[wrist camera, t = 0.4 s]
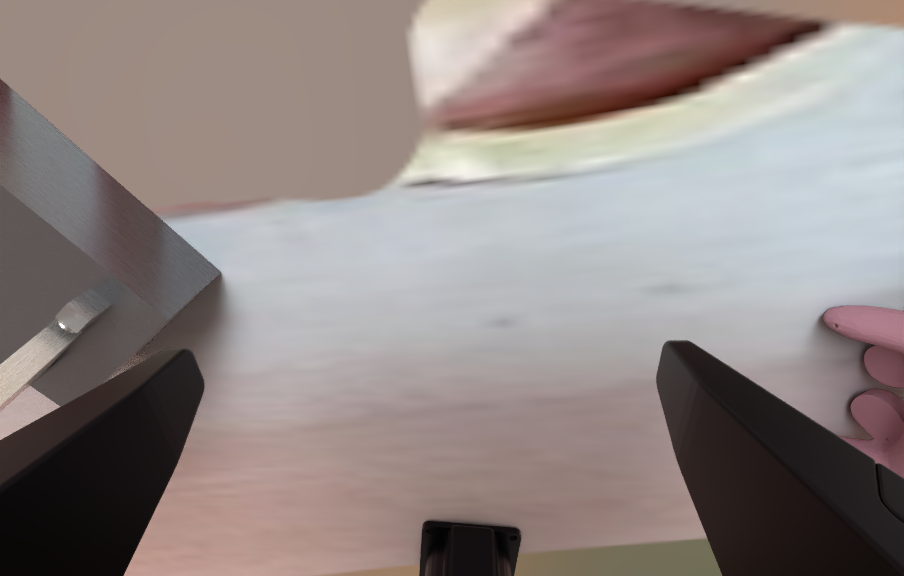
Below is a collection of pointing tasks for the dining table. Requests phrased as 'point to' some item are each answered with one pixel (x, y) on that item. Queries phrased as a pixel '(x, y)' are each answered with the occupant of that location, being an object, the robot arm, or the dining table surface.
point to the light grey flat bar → (33, 360)
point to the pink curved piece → (890, 362)
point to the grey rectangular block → (81, 256)
